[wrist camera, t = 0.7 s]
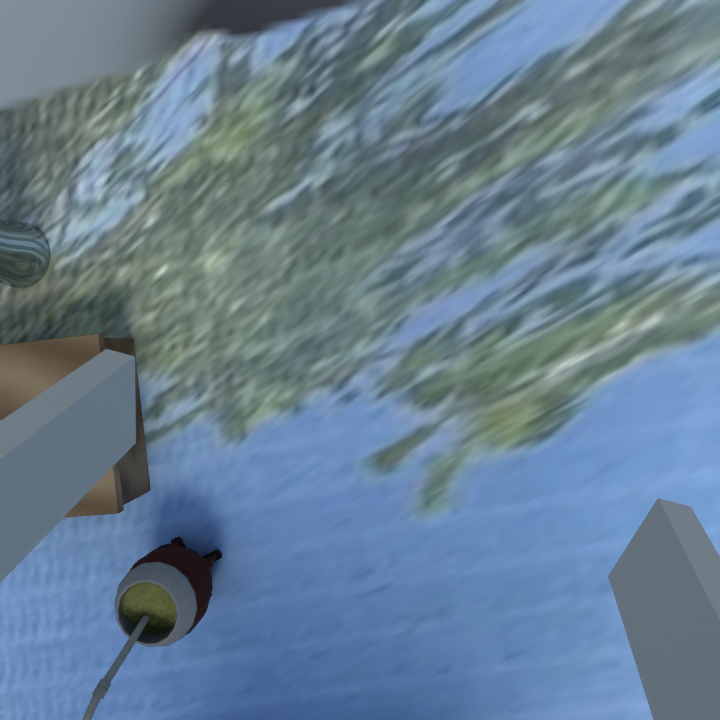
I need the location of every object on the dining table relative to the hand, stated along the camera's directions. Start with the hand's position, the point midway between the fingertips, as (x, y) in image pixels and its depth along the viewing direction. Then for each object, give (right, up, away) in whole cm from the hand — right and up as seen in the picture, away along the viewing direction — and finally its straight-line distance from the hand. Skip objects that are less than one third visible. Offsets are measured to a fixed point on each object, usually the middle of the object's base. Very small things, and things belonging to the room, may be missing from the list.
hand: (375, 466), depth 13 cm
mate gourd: (-16, -17, +34) cm, 41 cm away
